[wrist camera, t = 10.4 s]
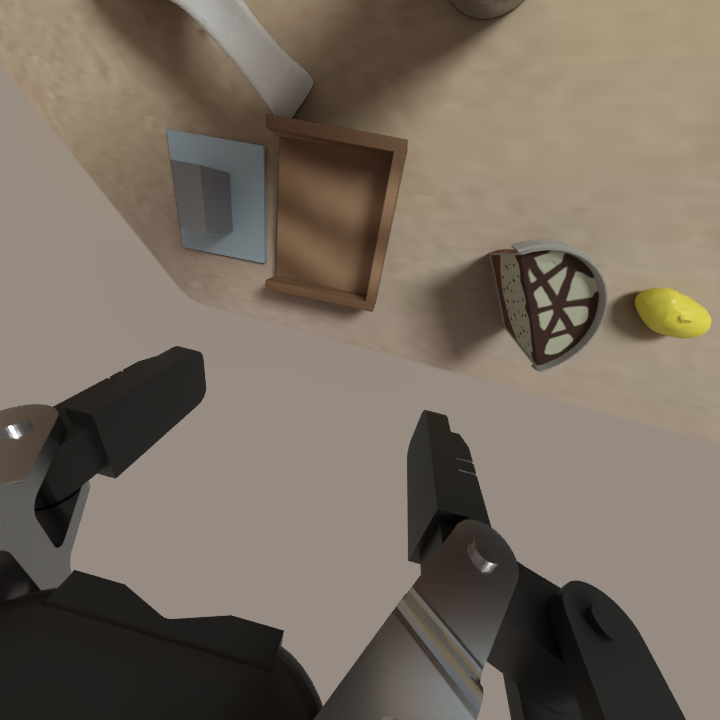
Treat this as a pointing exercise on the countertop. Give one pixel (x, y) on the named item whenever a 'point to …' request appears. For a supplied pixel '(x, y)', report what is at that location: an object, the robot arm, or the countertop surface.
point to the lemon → (672, 313)
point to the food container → (549, 299)
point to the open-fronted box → (334, 210)
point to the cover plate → (241, 189)
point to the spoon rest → (253, 52)
